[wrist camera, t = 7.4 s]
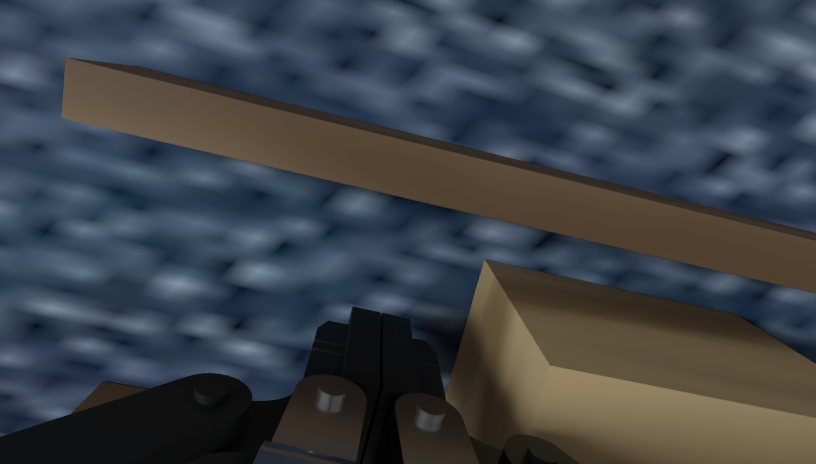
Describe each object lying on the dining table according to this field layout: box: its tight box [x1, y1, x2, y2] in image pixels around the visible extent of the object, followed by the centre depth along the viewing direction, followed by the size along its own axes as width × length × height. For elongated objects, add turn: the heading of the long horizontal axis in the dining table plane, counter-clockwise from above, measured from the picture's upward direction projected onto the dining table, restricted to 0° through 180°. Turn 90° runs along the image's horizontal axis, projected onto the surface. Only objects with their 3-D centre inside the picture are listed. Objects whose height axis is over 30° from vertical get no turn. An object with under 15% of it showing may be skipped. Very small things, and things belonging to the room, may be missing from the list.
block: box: [445, 260, 816, 464], centre depth 13 cm, size 5×8×6 cm, turn 77°
